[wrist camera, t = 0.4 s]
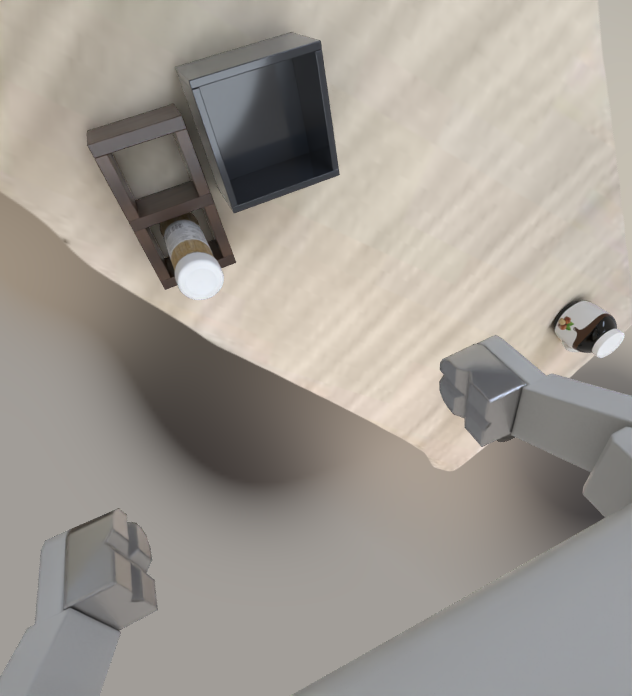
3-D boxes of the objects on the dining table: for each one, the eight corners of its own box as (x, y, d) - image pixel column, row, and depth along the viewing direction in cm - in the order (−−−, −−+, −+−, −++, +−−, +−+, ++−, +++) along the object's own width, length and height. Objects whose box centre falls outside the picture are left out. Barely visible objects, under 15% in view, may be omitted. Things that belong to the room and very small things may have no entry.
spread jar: (574, 292, 94) (621, 322, 86) (597, 302, 100) (642, 331, 92) (538, 336, 99) (578, 368, 91) (561, 343, 105) (601, 373, 97)
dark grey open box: (174, 66, 41) (188, 80, 36) (291, 31, 43) (320, 39, 38) (217, 188, 50) (233, 213, 45) (313, 154, 52) (339, 175, 47)
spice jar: (170, 249, 53) (190, 308, 43) (151, 216, 49) (168, 273, 40) (205, 234, 53) (231, 289, 44) (188, 200, 50) (213, 253, 40)
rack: (86, 130, 42) (87, 145, 38) (173, 103, 43) (181, 114, 40) (159, 269, 54) (165, 290, 50) (226, 244, 55) (236, 262, 52)
